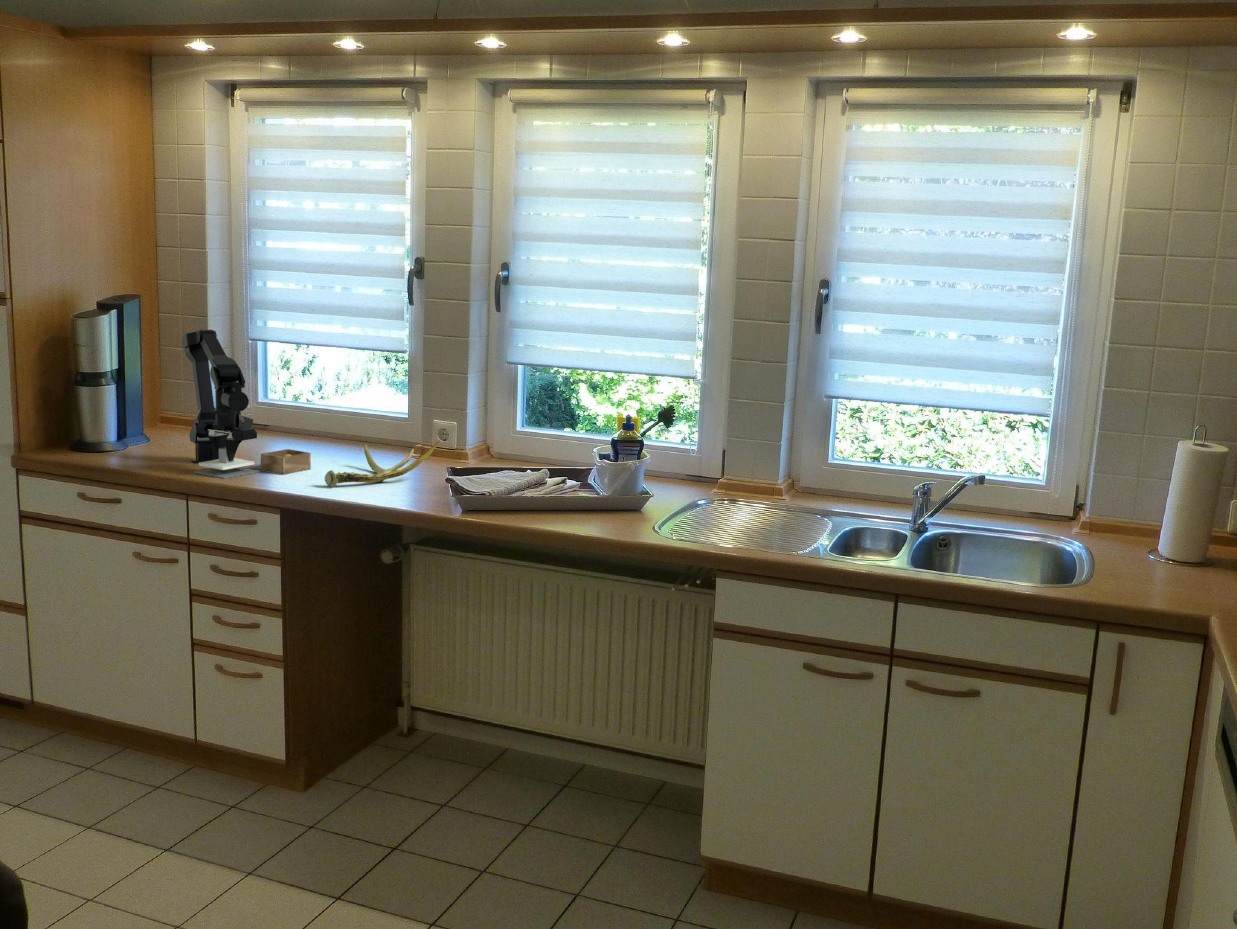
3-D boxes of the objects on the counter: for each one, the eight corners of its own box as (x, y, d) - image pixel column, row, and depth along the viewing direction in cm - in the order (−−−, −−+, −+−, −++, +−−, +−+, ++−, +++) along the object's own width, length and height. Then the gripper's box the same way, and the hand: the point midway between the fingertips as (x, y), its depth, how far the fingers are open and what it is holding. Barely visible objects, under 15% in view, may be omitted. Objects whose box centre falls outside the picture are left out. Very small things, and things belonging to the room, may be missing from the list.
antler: (322, 496, 303) (318, 462, 300) (367, 467, 333) (364, 436, 331) (414, 495, 298) (410, 461, 296) (451, 465, 328) (448, 434, 326)
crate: (260, 470, 320) (260, 453, 319) (288, 465, 329) (288, 448, 328) (283, 474, 316) (283, 457, 315) (310, 469, 325) (310, 452, 324)
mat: (194, 472, 311) (194, 471, 311) (229, 466, 323) (229, 465, 323) (224, 478, 306) (224, 477, 306) (259, 472, 317) (259, 470, 317)
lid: (198, 465, 311) (198, 448, 310) (230, 459, 321) (230, 443, 320) (222, 470, 307) (222, 453, 306) (254, 464, 317) (254, 448, 316)
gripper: (271, 407, 314) (271, 461, 316) (224, 400, 322) (225, 452, 325) (241, 411, 304) (242, 466, 307) (194, 404, 312) (195, 457, 315)
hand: (226, 460), depth 314 cm, fingers closed on lid, 3 cm apart
